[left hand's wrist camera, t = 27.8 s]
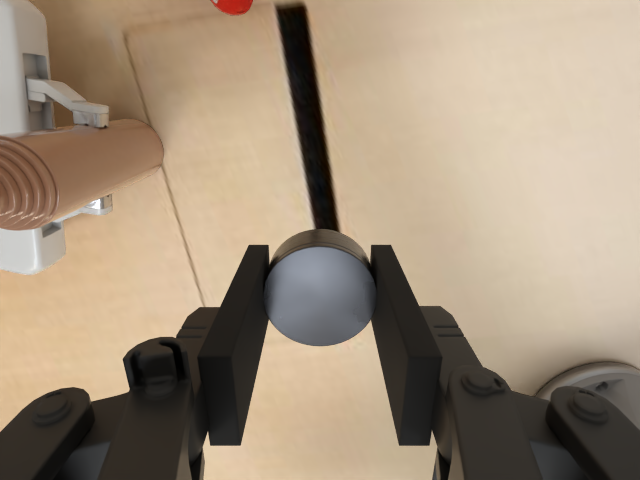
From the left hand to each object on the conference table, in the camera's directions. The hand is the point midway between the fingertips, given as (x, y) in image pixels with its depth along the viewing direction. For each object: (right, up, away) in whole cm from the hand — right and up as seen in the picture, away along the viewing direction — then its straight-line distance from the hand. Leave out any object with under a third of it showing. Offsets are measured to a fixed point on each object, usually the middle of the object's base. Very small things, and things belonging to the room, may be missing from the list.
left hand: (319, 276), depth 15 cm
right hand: (-16, +7, +14) cm, 22 cm away
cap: (0, 0, -1) cm, 1 cm away
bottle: (-17, +10, +20) cm, 28 cm away
